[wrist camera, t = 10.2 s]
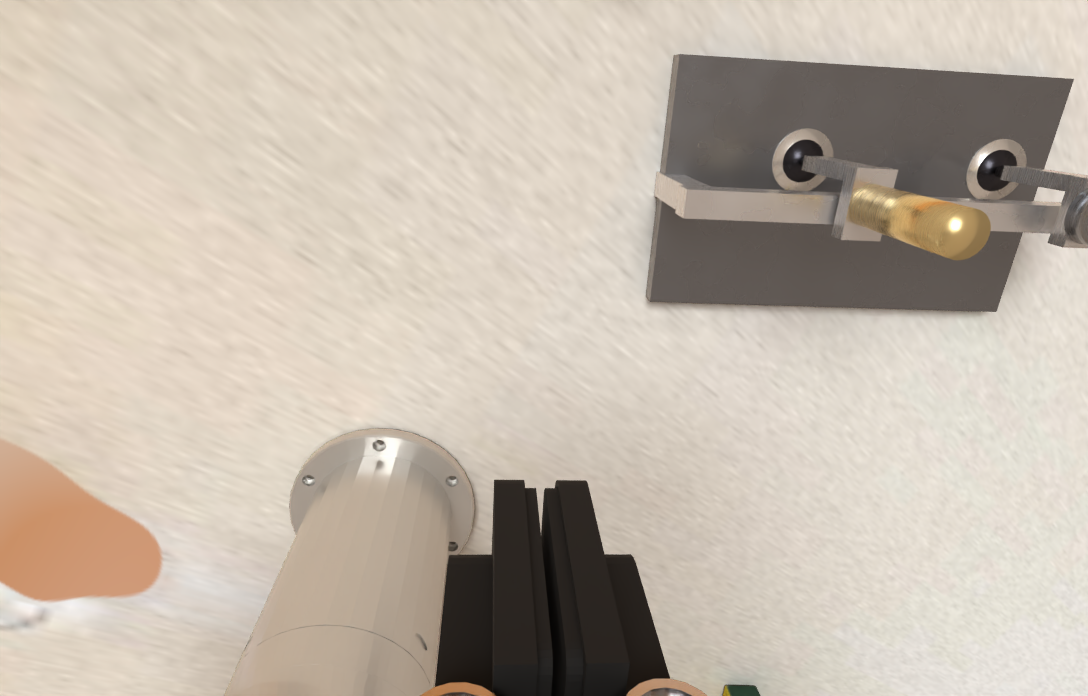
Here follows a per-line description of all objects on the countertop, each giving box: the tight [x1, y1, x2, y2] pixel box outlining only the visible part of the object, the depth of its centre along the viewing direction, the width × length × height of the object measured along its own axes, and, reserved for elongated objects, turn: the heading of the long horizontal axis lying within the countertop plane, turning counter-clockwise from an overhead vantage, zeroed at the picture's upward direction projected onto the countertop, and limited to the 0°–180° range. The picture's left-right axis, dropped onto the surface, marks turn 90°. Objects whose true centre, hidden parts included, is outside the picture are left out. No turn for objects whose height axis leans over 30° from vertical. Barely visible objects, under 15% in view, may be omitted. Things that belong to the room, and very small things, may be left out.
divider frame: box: [654, 165, 1088, 248], centre depth 34 cm, size 3×23×10 cm, turn 87°
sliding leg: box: [801, 155, 991, 260], centre depth 31 cm, size 3×2×14 cm, turn 177°
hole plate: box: [646, 54, 1074, 312], centre depth 38 cm, size 14×23×1 cm, turn 87°
